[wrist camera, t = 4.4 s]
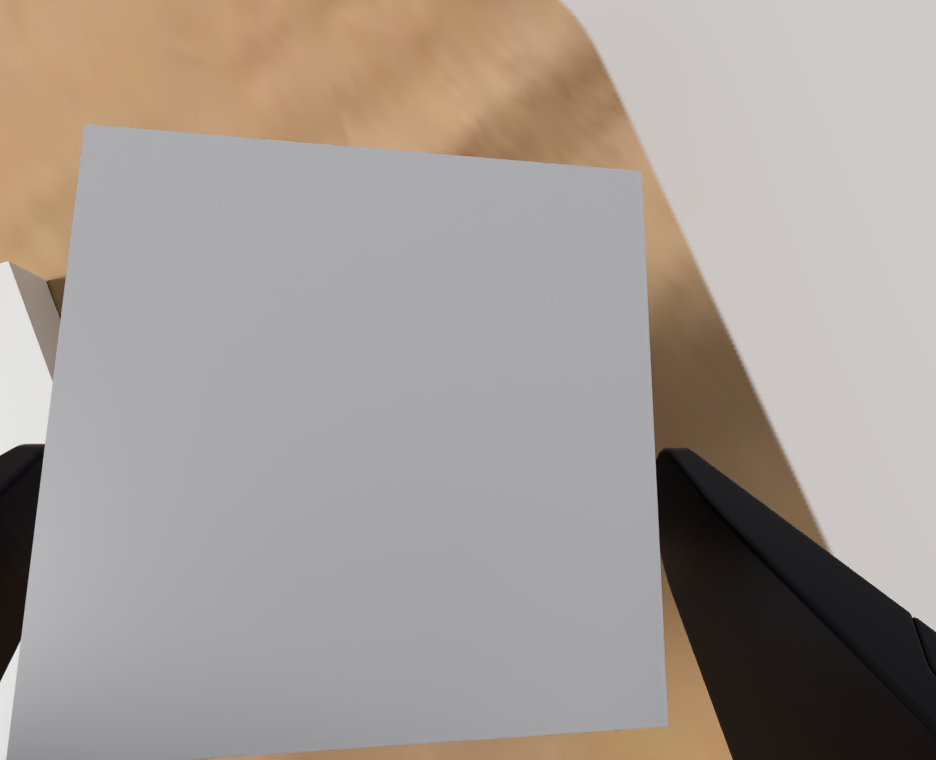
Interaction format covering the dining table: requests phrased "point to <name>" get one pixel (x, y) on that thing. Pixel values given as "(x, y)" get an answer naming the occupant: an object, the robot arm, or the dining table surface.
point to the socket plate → (23, 395)
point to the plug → (342, 456)
